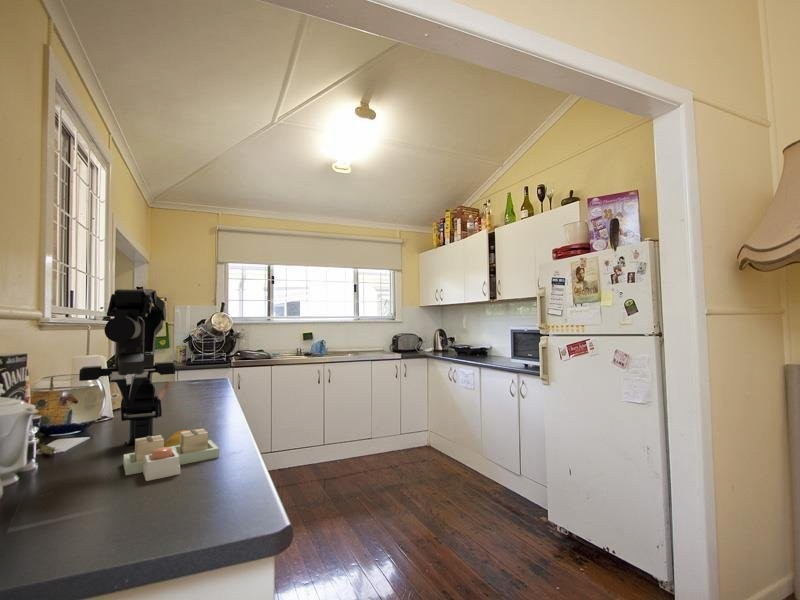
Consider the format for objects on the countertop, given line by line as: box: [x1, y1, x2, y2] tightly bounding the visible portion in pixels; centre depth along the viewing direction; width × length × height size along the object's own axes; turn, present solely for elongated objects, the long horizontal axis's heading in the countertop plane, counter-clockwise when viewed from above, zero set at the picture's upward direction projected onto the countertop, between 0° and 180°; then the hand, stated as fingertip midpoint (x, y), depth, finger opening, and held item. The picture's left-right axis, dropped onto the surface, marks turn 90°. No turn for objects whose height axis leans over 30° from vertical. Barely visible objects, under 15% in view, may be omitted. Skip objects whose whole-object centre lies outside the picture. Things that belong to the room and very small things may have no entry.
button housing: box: [142, 450, 181, 482], centre depth 84 cm, size 6×6×4 cm
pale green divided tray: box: [122, 439, 220, 476], centre depth 93 cm, size 9×18×2 cm, turn 127°
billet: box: [180, 428, 209, 454], centre depth 95 cm, size 5×5×6 cm
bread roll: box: [164, 429, 191, 447], centre depth 105 cm, size 8×9×4 cm
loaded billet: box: [134, 434, 165, 462], centre depth 90 cm, size 5×5×6 cm
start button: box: [152, 447, 172, 461], centre depth 85 cm, size 4×4×2 cm
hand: (128, 407), depth 96 cm, fingers closed
